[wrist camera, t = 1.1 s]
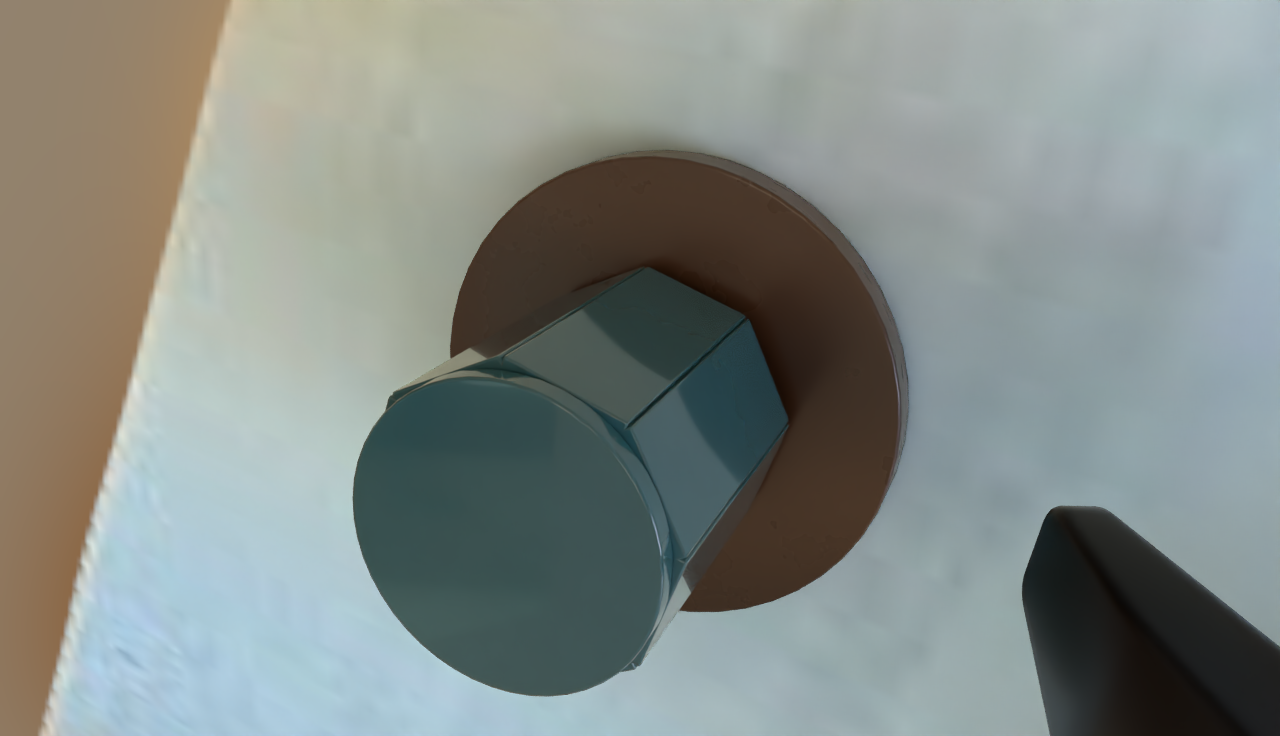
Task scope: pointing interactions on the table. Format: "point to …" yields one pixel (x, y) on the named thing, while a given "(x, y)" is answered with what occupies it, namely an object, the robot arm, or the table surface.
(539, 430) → the cup
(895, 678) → the table surface
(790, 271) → the holder
